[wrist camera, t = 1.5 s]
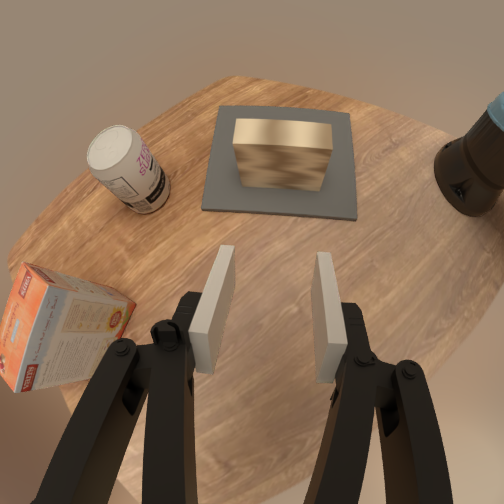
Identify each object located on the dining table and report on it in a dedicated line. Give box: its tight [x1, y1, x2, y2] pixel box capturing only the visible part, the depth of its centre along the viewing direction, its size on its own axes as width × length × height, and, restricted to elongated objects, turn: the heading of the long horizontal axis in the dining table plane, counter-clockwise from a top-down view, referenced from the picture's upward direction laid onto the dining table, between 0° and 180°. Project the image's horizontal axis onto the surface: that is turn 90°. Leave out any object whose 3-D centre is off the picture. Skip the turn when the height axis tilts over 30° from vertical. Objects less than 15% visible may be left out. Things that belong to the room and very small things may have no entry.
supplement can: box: [87, 125, 170, 214], centre depth 40 cm, size 8×8×15 cm
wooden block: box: [233, 119, 333, 191], centre depth 40 cm, size 12×4×12 cm, turn 85°
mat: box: [201, 106, 357, 221], centre depth 47 cm, size 24×21×1 cm
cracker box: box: [0, 262, 136, 393], centre depth 32 cm, size 14×6×21 cm, turn 153°
